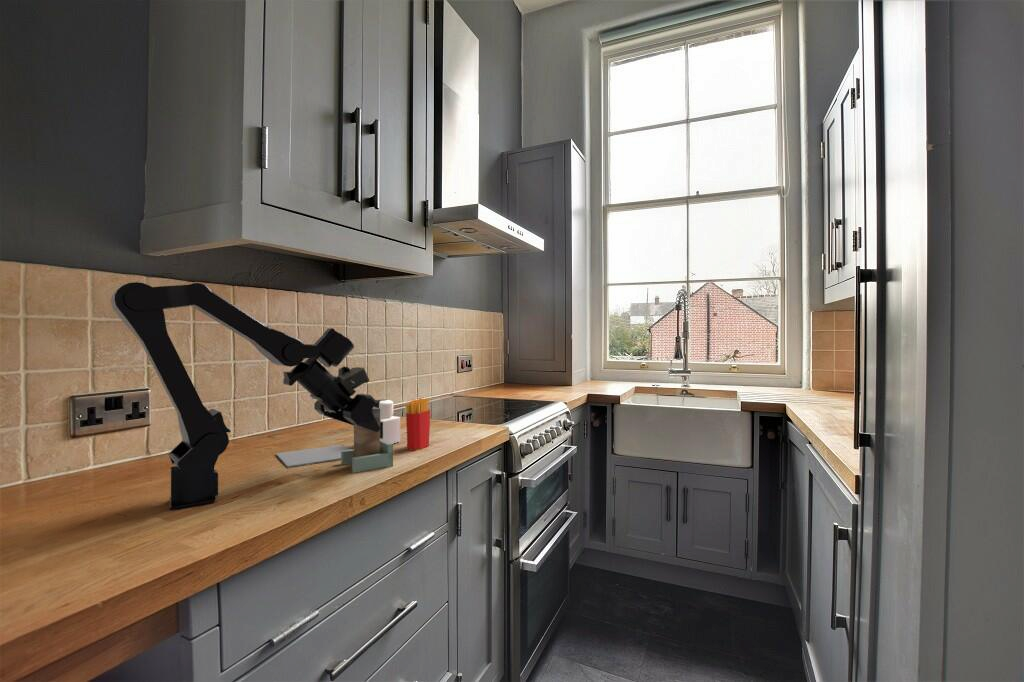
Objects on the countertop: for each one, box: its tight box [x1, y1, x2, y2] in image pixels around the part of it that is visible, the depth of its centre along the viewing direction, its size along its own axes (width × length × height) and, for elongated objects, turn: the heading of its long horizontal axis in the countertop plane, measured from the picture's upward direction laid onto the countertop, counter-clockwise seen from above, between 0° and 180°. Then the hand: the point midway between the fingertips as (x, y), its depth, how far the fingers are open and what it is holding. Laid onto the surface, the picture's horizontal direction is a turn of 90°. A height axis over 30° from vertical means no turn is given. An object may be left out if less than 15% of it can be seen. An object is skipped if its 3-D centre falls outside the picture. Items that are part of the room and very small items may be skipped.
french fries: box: [405, 397, 431, 451], centre depth 123 cm, size 9×4×13 cm, turn 160°
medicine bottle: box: [374, 399, 401, 445], centre depth 127 cm, size 7×7×12 cm
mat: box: [275, 444, 351, 469], centre depth 113 cm, size 16×14×1 cm
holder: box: [340, 438, 394, 474], centre depth 105 cm, size 9×9×5 cm
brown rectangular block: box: [353, 407, 380, 457], centre depth 105 cm, size 4×4×13 cm
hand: (368, 427), depth 105 cm, fingers open, 9 cm apart
